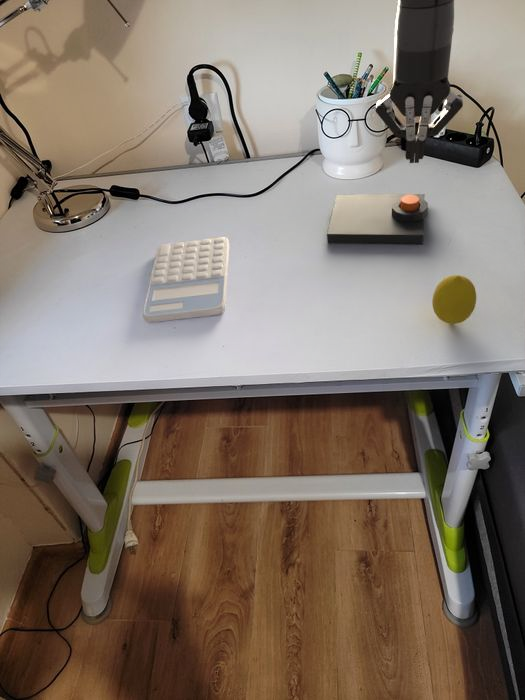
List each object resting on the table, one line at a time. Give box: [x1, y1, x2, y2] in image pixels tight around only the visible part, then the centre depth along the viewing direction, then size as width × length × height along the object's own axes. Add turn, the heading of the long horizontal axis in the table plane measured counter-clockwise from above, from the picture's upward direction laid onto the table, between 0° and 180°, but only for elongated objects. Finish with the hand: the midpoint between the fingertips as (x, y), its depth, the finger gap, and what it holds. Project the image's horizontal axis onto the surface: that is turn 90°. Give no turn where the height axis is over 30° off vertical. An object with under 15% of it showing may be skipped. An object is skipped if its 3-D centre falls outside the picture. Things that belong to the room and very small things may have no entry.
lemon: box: [432, 274, 477, 325], centre depth 69 cm, size 6×6×8 cm
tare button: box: [401, 195, 419, 211], centre depth 87 cm, size 3×3×2 cm
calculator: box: [142, 236, 230, 323], centre depth 86 cm, size 13×20×2 cm, turn 0°
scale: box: [326, 193, 429, 245], centre depth 90 cm, size 16×13×4 cm
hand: (414, 160), depth 82 cm, fingers closed
